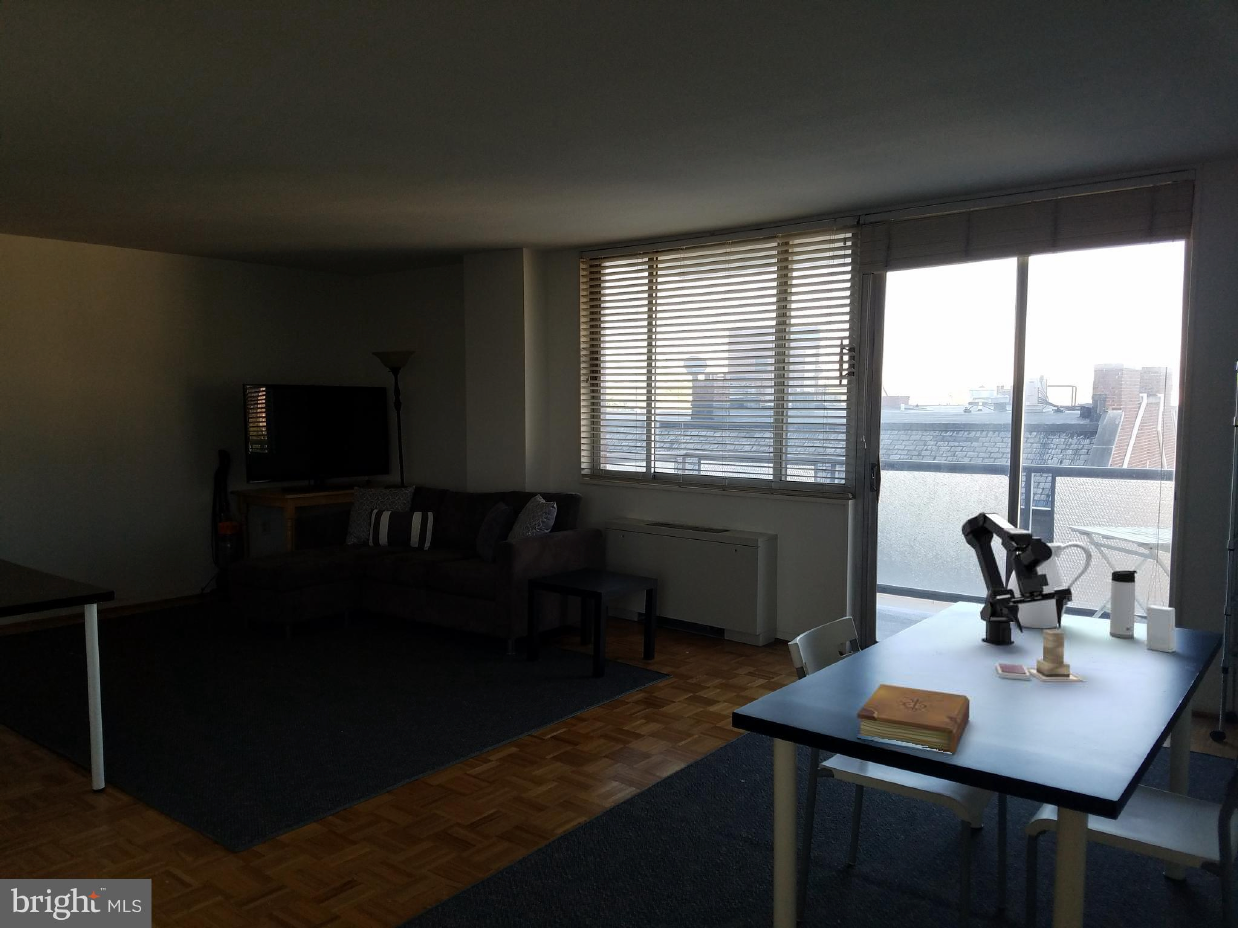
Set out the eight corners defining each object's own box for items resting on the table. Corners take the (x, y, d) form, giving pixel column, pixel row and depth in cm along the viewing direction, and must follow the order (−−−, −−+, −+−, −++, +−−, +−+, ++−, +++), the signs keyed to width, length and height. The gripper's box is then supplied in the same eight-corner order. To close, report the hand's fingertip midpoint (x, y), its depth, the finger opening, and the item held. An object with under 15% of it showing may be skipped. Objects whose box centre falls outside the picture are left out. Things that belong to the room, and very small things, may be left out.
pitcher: (998, 624, 276) (1000, 537, 274) (1017, 616, 288) (1018, 532, 287) (1081, 637, 259) (1083, 544, 258) (1096, 627, 272) (1099, 539, 270)
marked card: (1023, 669, 226) (1023, 667, 226) (1063, 669, 226) (1063, 667, 226) (1042, 681, 215) (1042, 679, 215) (1084, 681, 215) (1084, 679, 215)
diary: (954, 758, 167) (954, 729, 167) (856, 741, 176) (856, 713, 176) (969, 721, 188) (969, 694, 187) (880, 707, 197) (881, 682, 196)
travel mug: (1134, 639, 257) (1136, 572, 256) (1109, 636, 260) (1111, 570, 259) (1135, 635, 262) (1137, 569, 261) (1110, 632, 266) (1112, 567, 265)
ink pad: (995, 667, 227) (995, 662, 227) (1024, 670, 225) (1024, 664, 225) (999, 677, 218) (999, 671, 218) (1029, 679, 216) (1029, 674, 216)
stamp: (1045, 676, 218) (1046, 633, 218) (1036, 671, 223) (1037, 628, 223) (1069, 676, 218) (1070, 633, 218) (1059, 671, 223) (1060, 628, 223)
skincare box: (1175, 650, 245) (1176, 607, 244) (1169, 653, 242) (1170, 610, 241) (1151, 646, 249) (1152, 604, 249) (1145, 648, 247) (1146, 606, 246)
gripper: (988, 570, 234) (1001, 627, 227) (1064, 558, 228) (1080, 616, 220) (991, 583, 243) (1004, 637, 236) (1064, 572, 237) (1079, 627, 229)
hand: (1041, 629), depth 230 cm, fingers open, 9 cm apart
